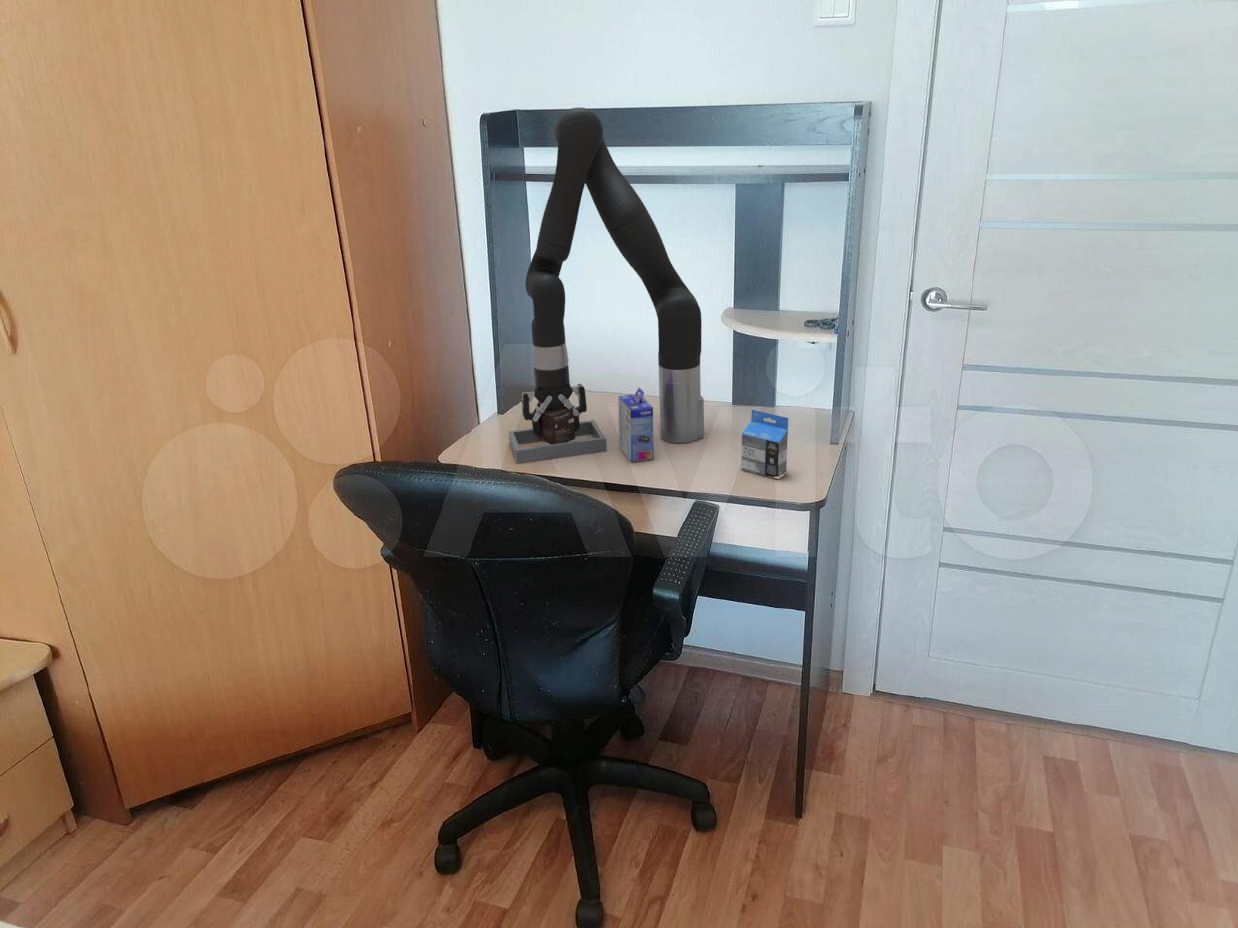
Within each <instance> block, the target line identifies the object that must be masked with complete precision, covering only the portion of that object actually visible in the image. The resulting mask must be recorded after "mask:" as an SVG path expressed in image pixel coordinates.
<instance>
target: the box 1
mask: <svg viewBox="0 0 1238 928" xmlns="http://www.w3.org/2000/svg"><path fill="white" fill-rule="evenodd" d="M538 420H539V424H540V437H539V440H541V441H540V442H544V443H546V444H547V445H550V444H558V443H565V442H572V441H575V439H576V436H575V429H574V416H573V409H570V410H569V409H568V408H567V407H566V406H565V405H564V406H563V407H562V408H553V409H547V408H546V409H545V411H544V412H543V414H541V416H540V417H539V419H538Z"/></svg>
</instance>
